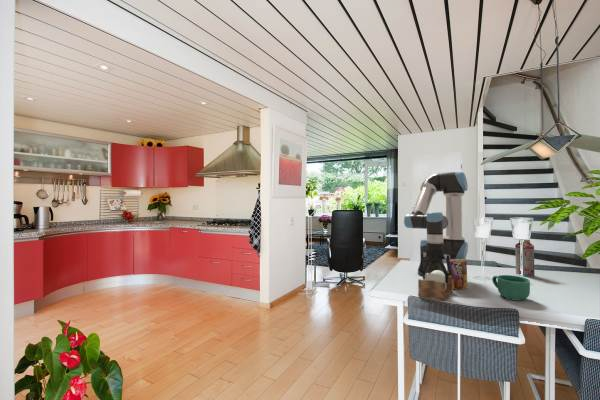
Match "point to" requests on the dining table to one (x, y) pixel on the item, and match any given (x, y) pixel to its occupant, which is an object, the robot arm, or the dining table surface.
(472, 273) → the dining table surface
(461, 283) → the candy box
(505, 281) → the mug
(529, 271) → the juice carton
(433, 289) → the cradle
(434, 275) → the roll
